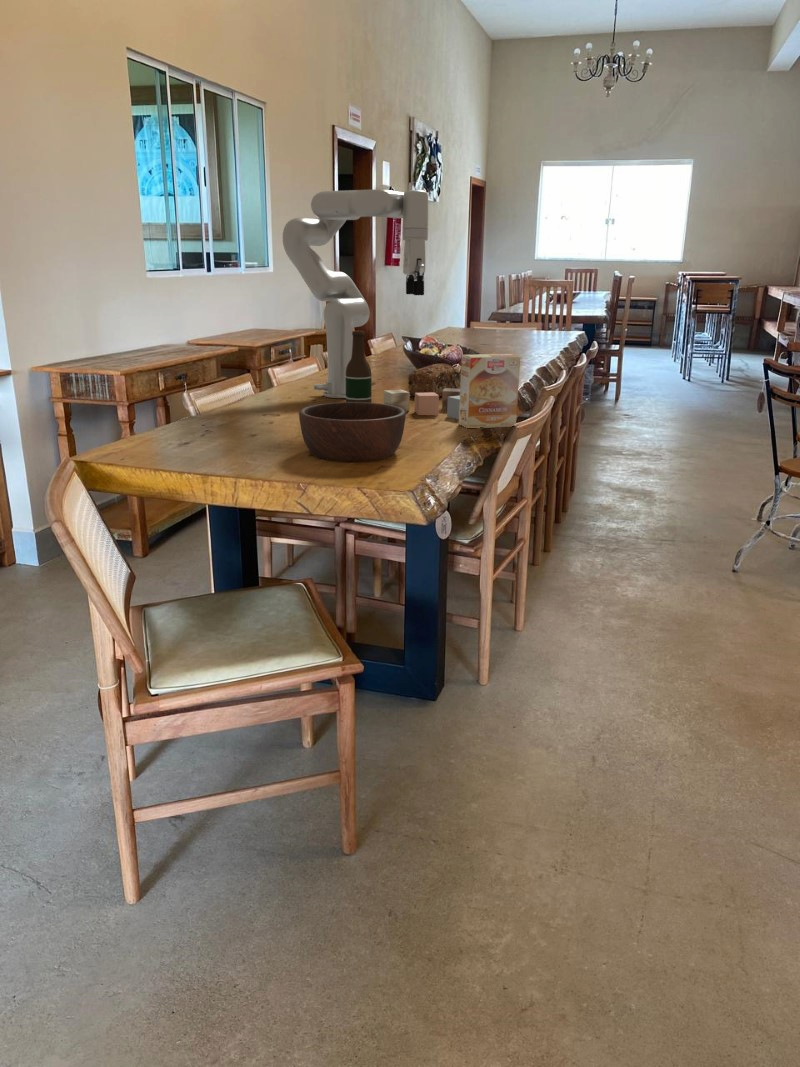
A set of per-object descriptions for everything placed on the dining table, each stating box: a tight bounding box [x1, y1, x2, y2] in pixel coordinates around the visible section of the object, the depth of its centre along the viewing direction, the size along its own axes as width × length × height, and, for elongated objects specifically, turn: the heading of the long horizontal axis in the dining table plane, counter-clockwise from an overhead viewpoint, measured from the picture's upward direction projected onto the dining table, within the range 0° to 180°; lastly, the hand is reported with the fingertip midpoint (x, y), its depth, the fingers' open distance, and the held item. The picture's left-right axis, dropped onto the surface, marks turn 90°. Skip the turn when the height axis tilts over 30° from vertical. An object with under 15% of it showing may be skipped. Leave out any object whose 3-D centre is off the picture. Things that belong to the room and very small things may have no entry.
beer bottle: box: [345, 330, 372, 403], centre depth 235 cm, size 8×8×24 cm
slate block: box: [446, 396, 460, 420], centre depth 233 cm, size 6×6×6 cm
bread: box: [407, 363, 461, 398], centre depth 272 cm, size 19×11×10 cm, turn 146°
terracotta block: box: [414, 392, 440, 416], centre depth 238 cm, size 6×6×6 cm
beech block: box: [383, 389, 411, 413], centre depth 242 cm, size 6×6×6 cm
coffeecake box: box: [458, 353, 521, 429], centre depth 219 cm, size 15×7×20 cm, turn 108°
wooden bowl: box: [298, 401, 407, 463], centre depth 187 cm, size 25×25×10 cm
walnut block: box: [441, 388, 460, 411], centre depth 246 cm, size 6×6×6 cm
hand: (414, 294), depth 243 cm, fingers open, 9 cm apart
